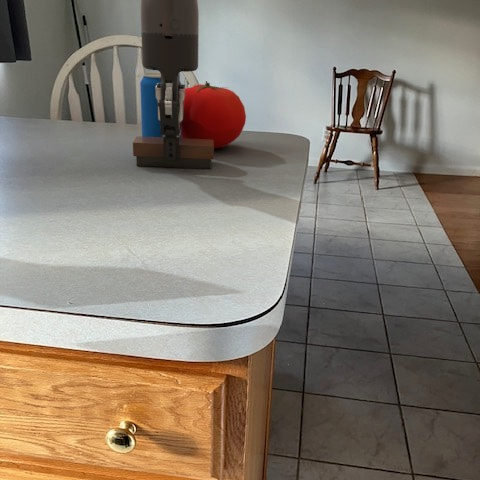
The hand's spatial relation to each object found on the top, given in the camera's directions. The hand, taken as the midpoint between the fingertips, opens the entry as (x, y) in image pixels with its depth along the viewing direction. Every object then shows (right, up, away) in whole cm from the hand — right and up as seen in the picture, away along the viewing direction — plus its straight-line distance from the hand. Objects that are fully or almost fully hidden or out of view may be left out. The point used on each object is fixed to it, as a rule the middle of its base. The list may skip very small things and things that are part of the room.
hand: (171, 163), depth 80 cm
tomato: (+5, +8, +17) cm, 19 cm away
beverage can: (-3, +5, +11) cm, 13 cm away
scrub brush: (0, +1, +5) cm, 5 cm away
